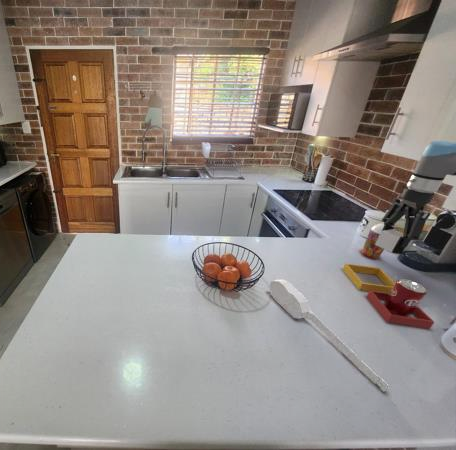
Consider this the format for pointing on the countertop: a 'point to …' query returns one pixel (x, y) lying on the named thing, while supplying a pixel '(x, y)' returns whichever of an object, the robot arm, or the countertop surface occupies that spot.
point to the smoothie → (373, 242)
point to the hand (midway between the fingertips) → (388, 246)
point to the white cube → (388, 239)
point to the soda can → (404, 298)
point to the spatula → (316, 323)
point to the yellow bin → (351, 268)
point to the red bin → (420, 320)
